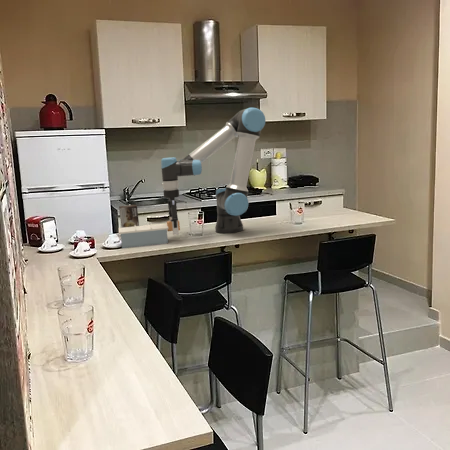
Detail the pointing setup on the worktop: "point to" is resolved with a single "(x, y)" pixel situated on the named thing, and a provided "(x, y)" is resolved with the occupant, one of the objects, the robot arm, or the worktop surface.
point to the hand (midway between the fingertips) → (174, 231)
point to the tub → (144, 238)
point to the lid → (148, 228)
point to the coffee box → (129, 216)
